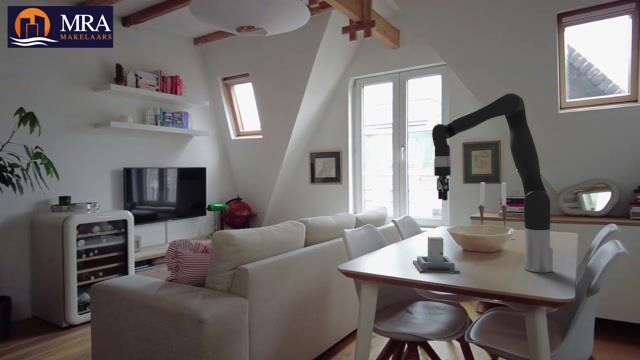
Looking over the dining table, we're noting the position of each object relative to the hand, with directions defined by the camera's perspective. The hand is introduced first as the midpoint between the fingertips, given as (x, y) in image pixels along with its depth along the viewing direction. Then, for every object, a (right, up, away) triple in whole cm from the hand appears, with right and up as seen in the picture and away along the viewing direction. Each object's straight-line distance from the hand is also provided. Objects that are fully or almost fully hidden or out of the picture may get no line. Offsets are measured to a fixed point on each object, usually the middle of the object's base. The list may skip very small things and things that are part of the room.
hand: (442, 199), depth 180 cm
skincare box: (-9, -28, -18) cm, 34 cm away
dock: (-9, -29, -18) cm, 35 cm away
